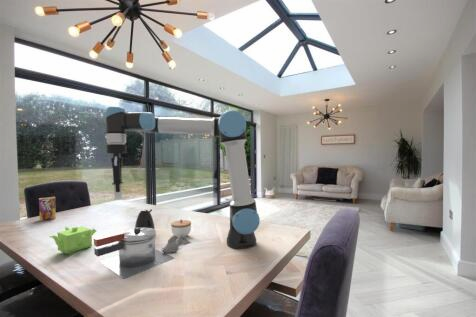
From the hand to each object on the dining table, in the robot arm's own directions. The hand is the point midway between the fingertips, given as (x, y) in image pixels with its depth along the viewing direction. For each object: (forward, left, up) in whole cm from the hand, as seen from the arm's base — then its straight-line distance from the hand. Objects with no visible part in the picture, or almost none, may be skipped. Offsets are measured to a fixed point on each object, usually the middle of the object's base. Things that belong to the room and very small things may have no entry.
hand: (118, 199), depth 103 cm
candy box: (+105, +2, -27) cm, 109 cm away
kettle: (+27, +9, -27) cm, 39 cm away
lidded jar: (+3, -35, -27) cm, 44 cm away
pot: (-8, 0, -25) cm, 27 cm away
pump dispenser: (+18, -22, -27) cm, 39 cm away
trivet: (-8, -4, -26) cm, 28 cm away
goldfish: (-8, -24, -27) cm, 37 cm away
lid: (-8, 0, -15) cm, 17 cm away
